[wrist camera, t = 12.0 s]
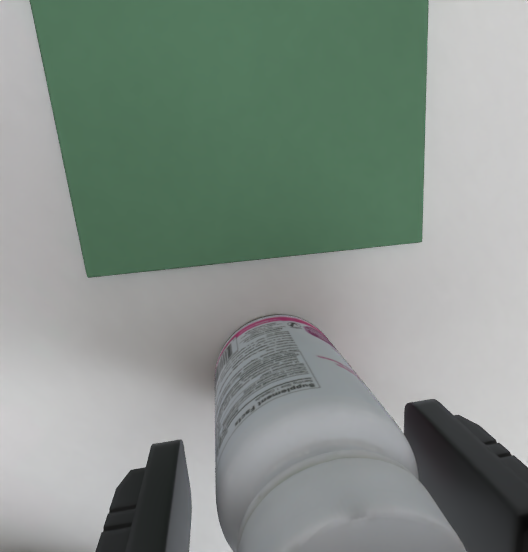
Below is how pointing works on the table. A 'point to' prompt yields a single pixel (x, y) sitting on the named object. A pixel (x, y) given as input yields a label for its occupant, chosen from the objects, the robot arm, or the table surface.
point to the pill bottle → (312, 452)
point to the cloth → (236, 126)
